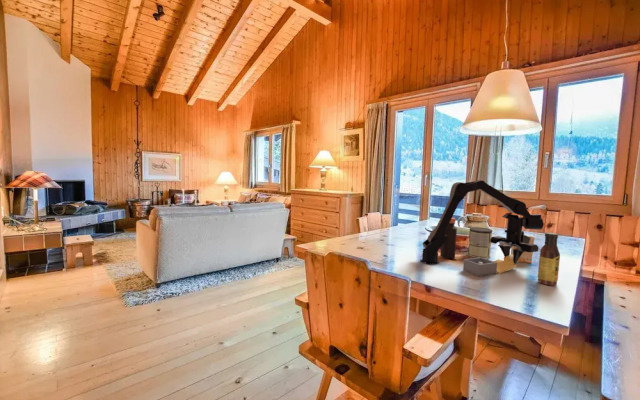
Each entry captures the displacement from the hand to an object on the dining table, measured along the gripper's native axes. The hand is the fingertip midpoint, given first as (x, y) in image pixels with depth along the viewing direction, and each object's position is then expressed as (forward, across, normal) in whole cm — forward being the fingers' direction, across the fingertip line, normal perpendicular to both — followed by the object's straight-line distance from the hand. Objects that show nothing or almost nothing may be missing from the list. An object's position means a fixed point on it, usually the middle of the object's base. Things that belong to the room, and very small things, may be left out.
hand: (511, 262), depth 135 cm
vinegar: (+3, +22, +16) cm, 27 cm away
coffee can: (+3, +19, -2) cm, 19 cm away
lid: (+1, 0, +5) cm, 5 cm away
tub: (+2, 0, +20) cm, 20 cm away
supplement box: (+3, +6, -15) cm, 17 cm away
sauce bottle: (+3, -18, +5) cm, 19 cm away
